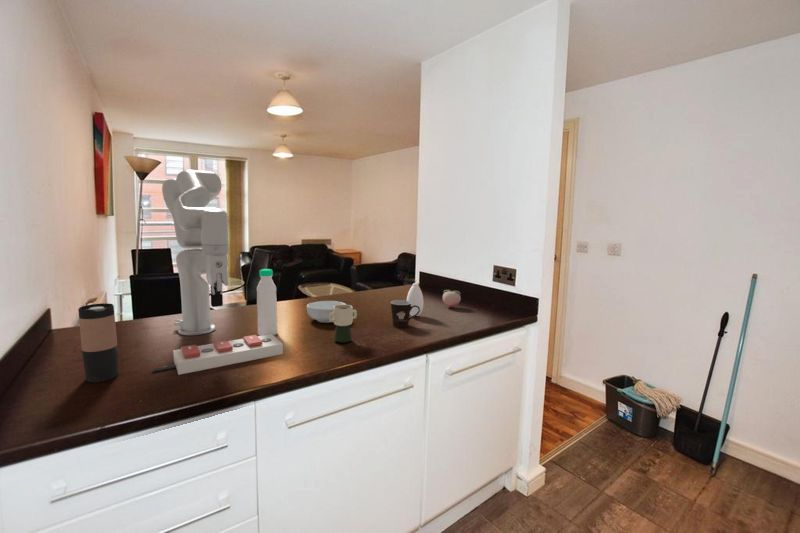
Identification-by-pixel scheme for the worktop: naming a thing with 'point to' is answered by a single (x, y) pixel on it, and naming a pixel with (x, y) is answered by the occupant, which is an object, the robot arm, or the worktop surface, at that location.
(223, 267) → the robot arm
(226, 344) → the rocker middle
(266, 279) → the water bottle
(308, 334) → the worktop surface
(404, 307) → the coffee mug
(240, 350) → the power strip
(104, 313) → the travel mug
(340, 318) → the character mug
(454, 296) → the pale pink rounded piece
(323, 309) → the cereal bowl
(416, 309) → the sauce bottle
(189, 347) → the rocker left
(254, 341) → the rocker right
